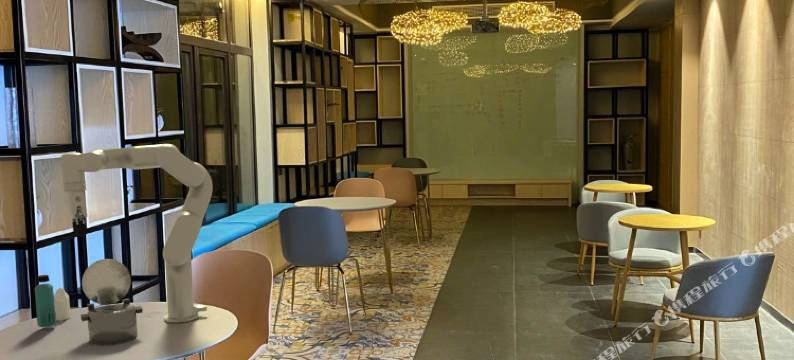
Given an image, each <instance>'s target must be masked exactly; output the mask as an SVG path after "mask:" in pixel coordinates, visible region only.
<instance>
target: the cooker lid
mask: <svg viewBox="0 0 794 360" xmlns="http://www.w3.org/2000/svg"><path fill="white" fill-rule="evenodd" d="M131 281H132V279H131V274H130V271H129V269H128V267H126V266H125V265H124V264H123V263H122V262H121V261H119V260H116V259H113V258H104V259H103V258H102V259H99V260H96V261H94V262H93V263H91V264H90V265H89V266H88V267H87V268H86V270H85V272H84V273H83V275H82V280H81V285H82V290H83V292H84V295H85V296H86V297H87V298H88V299H89V300H90V301H92V303H95V304H98V305H101V306H106V305H114V304H117V303H118V302H119V301H121V300H123V298H124V297H126V295H127V294H128V292H129V290H130V287H131Z"/></svg>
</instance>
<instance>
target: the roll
mask: <svg viewBox="0 0 794 360" xmlns="http://www.w3.org/2000/svg"><path fill="white" fill-rule="evenodd" d="M54 302H55V303H54V304H55V311H56V322H57V321H59V322H60V321H65V320H69V319H71V308H70V307H71V306H70V305H71V304H70V294H68V293H67V292H66V291H65V289H64V288H62V287H59V288H57V289H56V291H55V293H54Z"/></svg>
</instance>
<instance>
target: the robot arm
mask: <svg viewBox="0 0 794 360" xmlns="http://www.w3.org/2000/svg"><path fill="white" fill-rule="evenodd" d="M60 162H61V173H62V174H61V175H62V183H63V192H64V193H67V197H68V200H67V201H68V207H69V212H70V214H69V215H70V216H71V218H72V219H71V220H72V222H71V223H72V232H74V233H75V234H76V236H79V237H80V236H85V235H87V228H86V227H87V226H86V223H85V218H88V210H87V203H86V201H87V200H86V195H85V191H87V183H86V174H85V173H97V172H99V171H101V170H103V171H104V170H111V169H128V170H143V169H144V170H145V169H156V168H161V169H162V170H164V171H165V172H166V173H168V174H169V175H171V176H172V177H173V178H175V179H176V180H178V181H179V182H180V183H181V184H183V185H185V186H186V187H188V189H189V190H188V192H187V195H186V198H185V201H184V203H183V205H182V208H181V210H180V211H179V214H177V216H176V218H175V221H174V224H173V226H172V228H171V231H170V233H169V235H168V238H167V240H166V242H165V244H164V246H163V249H162V250H163V251H162V258H163V260H164V261H165V262H164V264H165V283H166V299H167V300H166V301H167V313H168V314H166V315H164V316H163V320H164V321H165V322H167V323H173V324H175V323H176V324H177V323H188V322H191V321H195V320H196V319H198V318H199V312H206V311H208V309H207V305H195V304H194V287H193V285H194V284H193V268H192V263H193V262H192V251H193V249H194V247H195V244H196V241H197V239H198V237H199V234H200V232H201V229H202V223H203V219H204V217H205V216H206V215H205V214H206V212H207V209H208V207H209V204H210V201H211V198H212V195H213V187H214V186H213V180H212V177H211V175H210V173H209V172H208V170H207V169H206V168H205V167H204V166H203V165H202V164H201V163H198V162H195V161H192V160H191V159H189V158H188V157H186V156H185V155H184V154H183V153H181V152H180V150H179V149H178V147H177V146H176V145H175V144H170V143H162V144H150V145H137V146H128V147H127V146H126V147H120V148H105V149H95V150H91V151H88V152H84V153H83V152H81V153H80V152H69V153H64V154H62V155H60Z"/></svg>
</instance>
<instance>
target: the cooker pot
mask: <svg viewBox="0 0 794 360" xmlns="http://www.w3.org/2000/svg"><path fill="white" fill-rule="evenodd" d="M94 303H95V302H92V303H87V312H86V313H83V314H80V320H81V322H87V329H88V340H89V341H88V342H89V343H90V344H91V343H92V345H95V344H96V345H95V346H114V345H120V344H123V343H127V342H131V341H132V340H135V339H136V338H137V337H138V335H139V333H138V323H137V322H138V320H137V314H142V313H144V312H143V307H142V306H141V305H139V306H135V305H133V304H131V302H130V299H129V298H124V299H123V298H122V303H120V304H119V303H114V304H109V305H101V306H98V307H95V304H94Z"/></svg>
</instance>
